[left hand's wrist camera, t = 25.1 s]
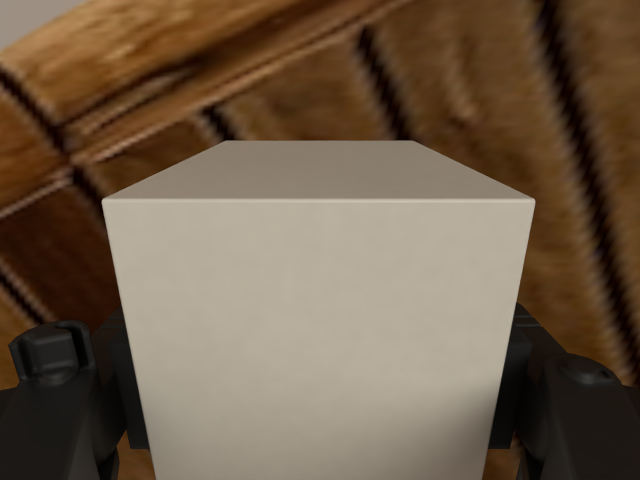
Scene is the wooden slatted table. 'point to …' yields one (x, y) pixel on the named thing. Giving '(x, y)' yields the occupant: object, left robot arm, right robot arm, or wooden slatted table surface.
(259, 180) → the beige block
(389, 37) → the wooden slatted table surface
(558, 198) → the wooden slatted table surface
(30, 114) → the wooden slatted table surface
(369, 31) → the wooden slatted table surface
